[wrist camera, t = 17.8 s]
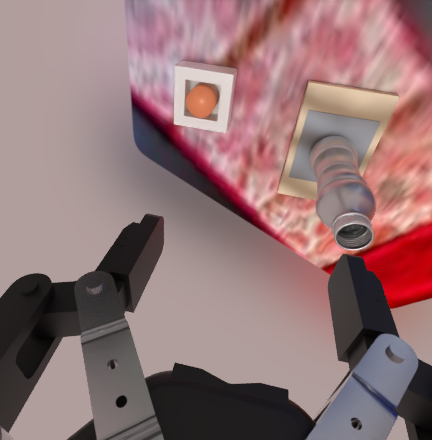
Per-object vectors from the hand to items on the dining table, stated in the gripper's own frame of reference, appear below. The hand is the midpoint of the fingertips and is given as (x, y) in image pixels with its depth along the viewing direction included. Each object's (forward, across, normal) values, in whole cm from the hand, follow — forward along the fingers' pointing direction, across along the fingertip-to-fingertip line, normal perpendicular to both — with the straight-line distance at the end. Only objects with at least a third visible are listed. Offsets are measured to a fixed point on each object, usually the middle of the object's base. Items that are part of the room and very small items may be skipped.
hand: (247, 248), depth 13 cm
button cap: (+35, +9, +4) cm, 36 cm away
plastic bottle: (+35, -11, +9) cm, 37 cm away
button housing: (+36, +9, +4) cm, 37 cm away
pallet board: (+36, -11, +9) cm, 39 cm away
